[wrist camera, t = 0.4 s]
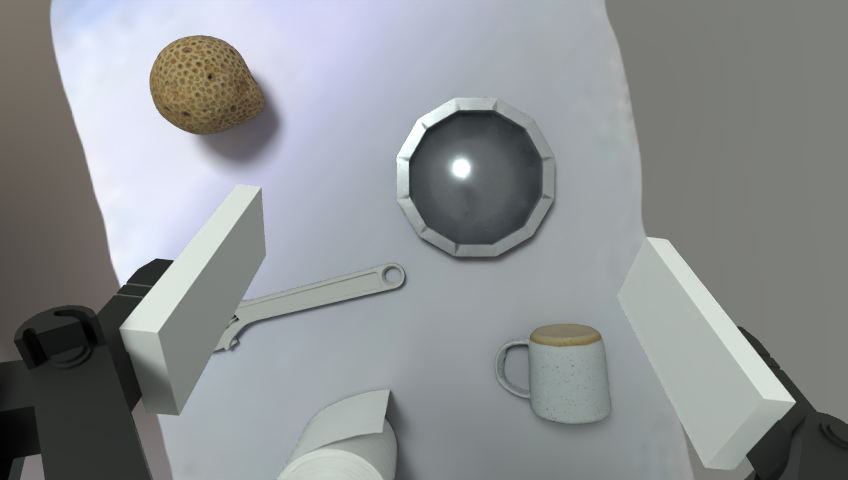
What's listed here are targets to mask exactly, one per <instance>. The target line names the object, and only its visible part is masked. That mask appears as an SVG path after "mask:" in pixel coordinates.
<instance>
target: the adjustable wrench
mask: <svg viewBox="0 0 848 480" xmlns="http://www.w3.org/2000/svg"><path fill="white" fill-rule="evenodd" d="M392 267H393V268H396V269H398V270H399V272H400V278H399V280H398V281H397V282H395V283H390V282H388V281H387V280H386V279H385V272H386V270H387V269H389V268H392ZM404 277H405V273H404V270H403V268H402V267H401V266H400V265H399V264H397V263H388V264H384V265H380V266H377V267H373V268H369V269H365V270H362V271H358V272H354V273H350V274H346V275H343V276H339V277H335V278H331V279H328V280H324V281H320V282H316V283H313V284H309V285H305V286H301V287H297V288H294V289H290V290H286V291H282V292H279V293H275V294H271V295H267V296H264V297H260V298H256V299H250V300H241V302H240V304H239V306H238V307H237V309H236V311H235V313H234V315H233V317H232V319H231V320H230V322H229V324H228V326H227V328H226V330H225V331H224V333H223V335H222V337H221V339H220V341H219V343H218V344H217V346H216V348H215V350H218V349H221V348H223V347H224V348H225V350H226V351H227V350H228V349H230V348H231V347H232V346H233V345H234V344H235V343H237V342H238V341H237V339H236V338H235V337H236V336H237V334H238V333H239V332H240V331H241V330H242V328H243V327H244V326H245V325H247V324H248V323H250V322H253V321H256V320H260V319H264V318H268V317H272V316H277V315H281V314H285V313H290V312H294V311H298V310H303V309H307V308H311V307H316V306H320V305H324V304H328V303H333V302H337V301H341V300H346V299H350V298H354V297H359V296H363V295H367V294H372V293H376V292H380V291H384V290H389V289H393V288H396V287H399V286H400V285H401V284H402V282H403V281H404ZM235 315H236V316H237V317H235ZM237 318H238V319H239V321H238V320H237ZM215 350H214V351H215Z"/></svg>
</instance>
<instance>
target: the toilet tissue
mask: <svg viewBox="0 0 848 480" xmlns="http://www.w3.org/2000/svg"><path fill="white" fill-rule="evenodd" d="M389 392H390V390H380V391H370V392H367V393H364V394H360V395H356V396H352V397H350V398H347V399H344V400H341V401H339V402H337V403H335V404H333V405H330V406H328V407H326V408H324V409H323V410H321V411H319V412H318V413H317V414H316V415H315V416H314V417H313V418H312V419H311V420H310V422H309V423H308V424H307V426H306V428H305V429H304V430H303V433H302V435H301V437H300V438H299V440H298V442H297V444H296V445H295V447H294V449H293V451H292V452H291V454H290V456H289V459H288V460H287V462H286V465H285V466H284V467H283V469H282V472H281V474H280V475H279V477H278V479H277V480H394V478H395V470H396V461H397V442H396V437H395V434H394V431H393V429H392V427H391V426H390V424H389V422H388V421H387V420H386V419H385V418H384V417H385V414H386V407H387V401H388V396H389Z"/></svg>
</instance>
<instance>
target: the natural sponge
mask: <svg viewBox="0 0 848 480" xmlns="http://www.w3.org/2000/svg"><path fill="white" fill-rule="evenodd" d="M150 91H151V95H152V98H153V101H154V104H155V106H156V108H157V110H158V111H159V113H160V114H161V115H162V116H163V117H164V118H165V119H166V120H168V121H169V122H170V123H172V124H173V125H175V126H176V127H178V128H180V129H182V130H184V131H186V132H190V133H193V134H201V135H203V134H213V133H218V132H221V131H224V130H227V129H229V128H232V127H234V126H236V125H238V124H241V123H243V122H245V121H247V120H250V119H252V118H254V117H255V116H257V115H258V114H259V113H260V112H261V111H262V110H263V108H264V97H263V94H262V92H261V90H260V87H259V86H258V84H257V82H256V81H255V79H254V78H253V76H252V75H251V73H250V71H249V69H248V67H247V65H246V63H245V61H244V59H243V58H242V56H241V55H240V53H239V52H238V51H237V50H236V49H235V48H234V47H233V46H231V45H230V44H228V43H227V42H225V41H223V40H221V39H217V38H214V37H211V36H203V35H200V36H199V35H198V36H189V37H184V38H181V39H178V40H176V41H174V42H172V43H170V44H169V45H168V46H167V47H165V48H164V49H163V50H162V51H161V52H160V53H159V55H158V57H157V59H156V60H155V62H154V64H153V67H152V70H151V73H150Z"/></svg>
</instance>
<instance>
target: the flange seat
mask: <svg viewBox="0 0 848 480" xmlns="http://www.w3.org/2000/svg"><path fill="white" fill-rule="evenodd" d="M554 180H555V157H554V154H553V152H552V150H551V149H550V147H549V145H548V143H547V141H546V140H545V138H544V136H543V134H542V132H541V131H540V129H539V127H538V125H537V124H536V122H535V120H534V119H533V118H531V117H529V116H528V115H526V114H524V113H523V112H521V111H519V110H517V109H516V108H514V107H512V106H511V105H509V104H507V103H506V102H504V101H502V100H500V99H499V98H498V99H497V98H454V99H452V100H450V101H449V102H447V103H445V104H444V105H442V106H440V107H438V108H437V109H435V110H433V111H432V112H430V113H428V114H426V115H425V116H423V117H421V118H420V119H418V120H417V122H416V124H415V126H414V127H413V129H412V131H411V133H410V134H409V136H408V138H407V140H406V142H405V143H404V145H403V147H402V149H401V150H400V152H399V154H398V156H397V199H398V202H399V203H400V205H401V207H402V209H403V210H404V212H405V214H406V215H407V217H408V219H409V221H410V222H411V224H412V226H413V227H414V229H415V231H416V233H417V234H418V235H419V236H420V237H422V238H423V239H425V240H427V241H428V242H430V243H432V244H434V245H435V246H437V247H439V248H441V249H442V250H444V251H446V252H448V253H449V254H451V255H453V256H498V255H499V254H501V253H503V252H505V251H506V250H508V249H510V248H512V247H513V246H515V245H517V244H519V243H520V242H522V241H524V240H526V239H527V238H529V237H531V236H532V235H533V234H534V232H535V231H536V229H537V227H538V226H539V224H540V222H541V221H542V219H543V217H544V215H545V214H546V212H547V210H548V209H549V207H550V205H551V204H552V202H553V200H554Z"/></svg>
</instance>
